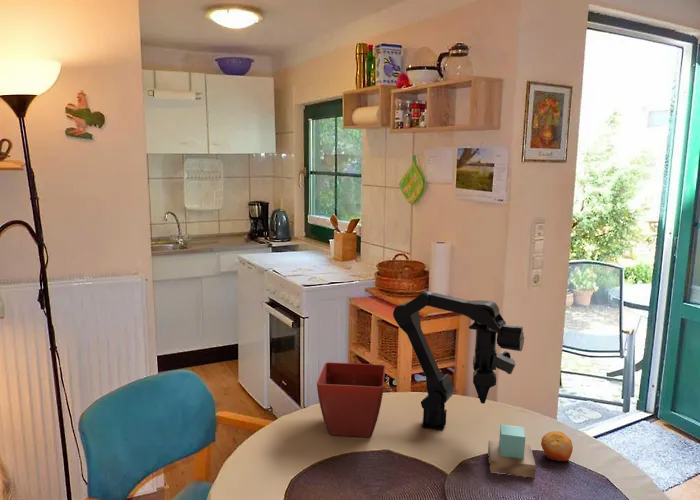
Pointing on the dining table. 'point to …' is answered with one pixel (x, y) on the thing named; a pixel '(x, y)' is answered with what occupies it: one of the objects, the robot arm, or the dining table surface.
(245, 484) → the dining table surface
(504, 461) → the light tan wooden block
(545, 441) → the fruit
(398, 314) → the robot arm
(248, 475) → the dining table surface
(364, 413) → the plant pot
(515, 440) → the teal cube
